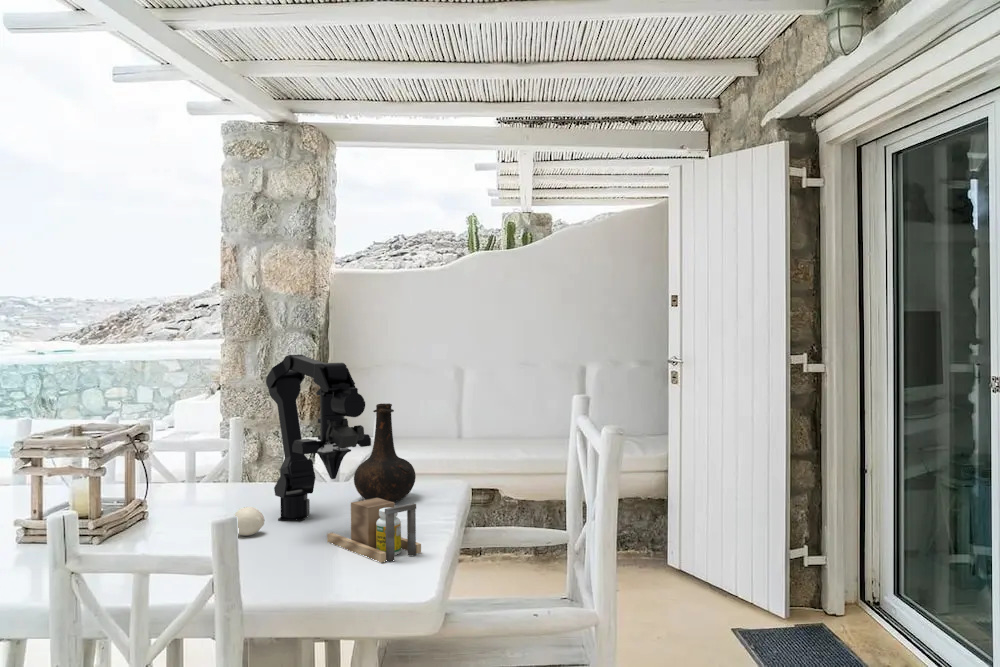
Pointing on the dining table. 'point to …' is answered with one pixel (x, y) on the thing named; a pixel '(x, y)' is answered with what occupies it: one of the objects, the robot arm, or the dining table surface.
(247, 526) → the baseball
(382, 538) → the supplement bottle
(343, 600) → the dining table surface
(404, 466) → the glass bottle
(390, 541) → the channel
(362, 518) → the block
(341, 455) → the robot arm
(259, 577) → the dining table surface
